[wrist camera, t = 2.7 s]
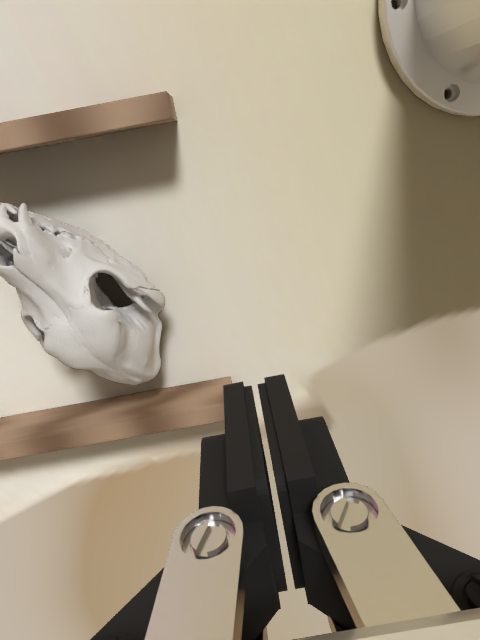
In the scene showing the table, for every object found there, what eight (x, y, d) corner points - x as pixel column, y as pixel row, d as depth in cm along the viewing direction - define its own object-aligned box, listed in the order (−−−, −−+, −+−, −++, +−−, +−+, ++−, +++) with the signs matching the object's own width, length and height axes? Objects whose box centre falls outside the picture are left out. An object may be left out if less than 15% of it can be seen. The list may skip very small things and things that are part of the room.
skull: (105, 412, 30) (-73, 377, 19) (82, 302, 33) (-76, 222, 23) (206, 362, 28) (73, 293, 17) (170, 252, 32) (43, 141, 21)
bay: (172, 97, 25) (162, 87, 20) (233, 390, 32) (236, 432, 28) (-240, 176, 25) (-341, 183, 21) (-87, 447, 33) (-137, 498, 28)
